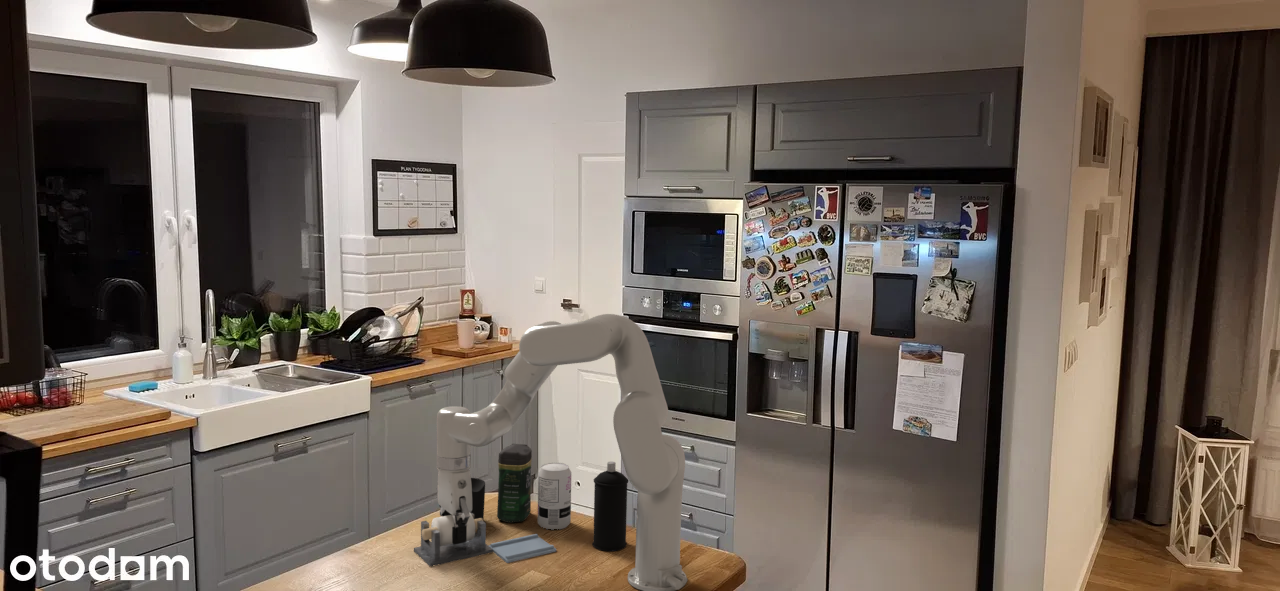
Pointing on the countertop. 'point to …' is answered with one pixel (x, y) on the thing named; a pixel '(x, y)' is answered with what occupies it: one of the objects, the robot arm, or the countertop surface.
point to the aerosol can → (610, 510)
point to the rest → (521, 548)
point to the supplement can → (554, 496)
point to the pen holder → (477, 498)
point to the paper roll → (449, 528)
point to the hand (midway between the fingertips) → (453, 537)
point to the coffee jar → (514, 483)
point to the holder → (452, 546)
